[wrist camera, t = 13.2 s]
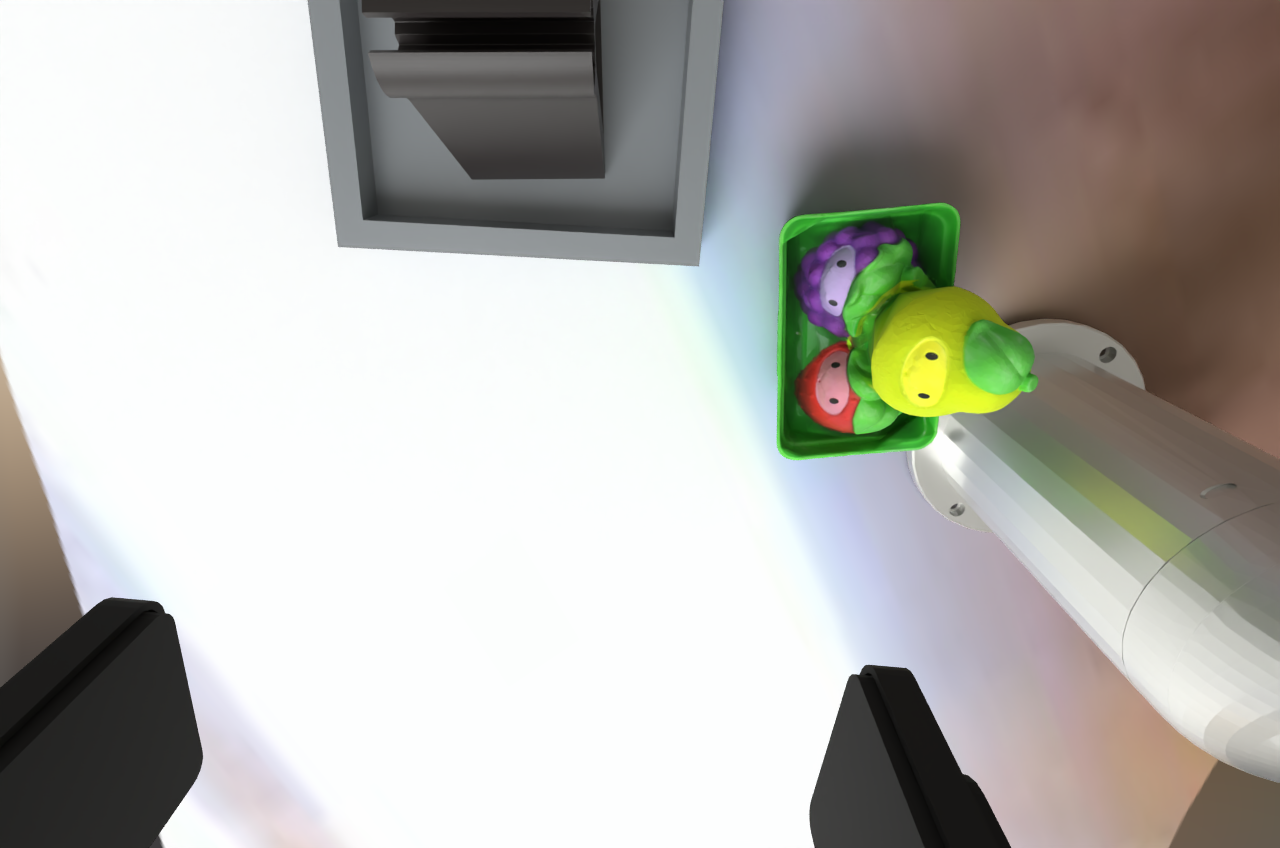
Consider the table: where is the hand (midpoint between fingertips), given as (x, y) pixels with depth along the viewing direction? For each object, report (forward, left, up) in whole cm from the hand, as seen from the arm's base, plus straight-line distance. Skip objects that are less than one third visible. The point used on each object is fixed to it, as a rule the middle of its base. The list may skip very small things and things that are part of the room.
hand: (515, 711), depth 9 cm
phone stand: (+3, -10, -26) cm, 28 cm away
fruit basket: (-13, +1, -27) cm, 30 cm away
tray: (+3, -9, -27) cm, 28 cm away
